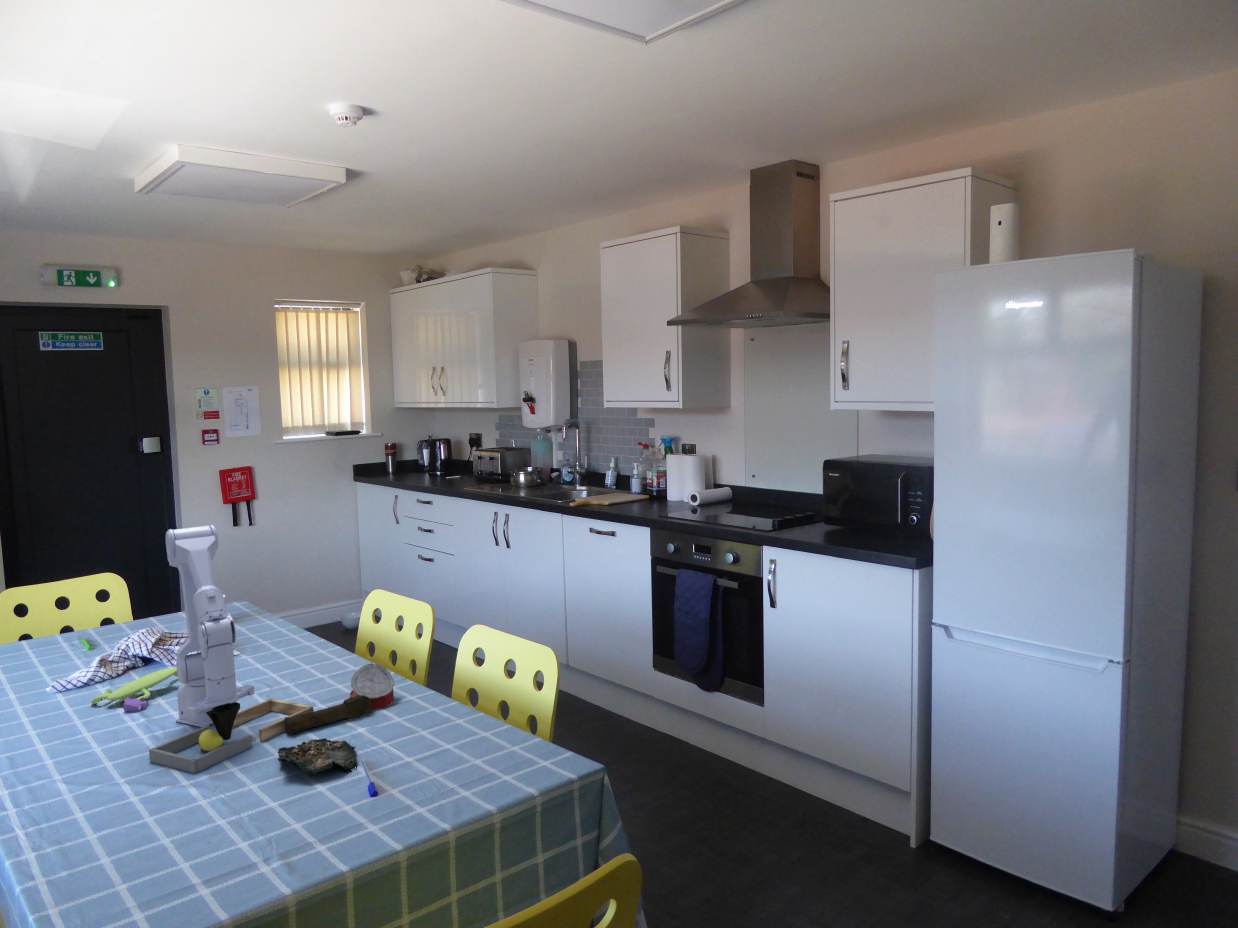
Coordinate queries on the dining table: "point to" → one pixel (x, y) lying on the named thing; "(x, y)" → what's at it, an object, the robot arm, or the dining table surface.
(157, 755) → the grey frame
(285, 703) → the oak frame
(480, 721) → the dining table surface
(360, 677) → the canned food
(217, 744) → the lemon
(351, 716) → the hand tool
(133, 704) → the figurine
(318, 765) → the decorative rock
